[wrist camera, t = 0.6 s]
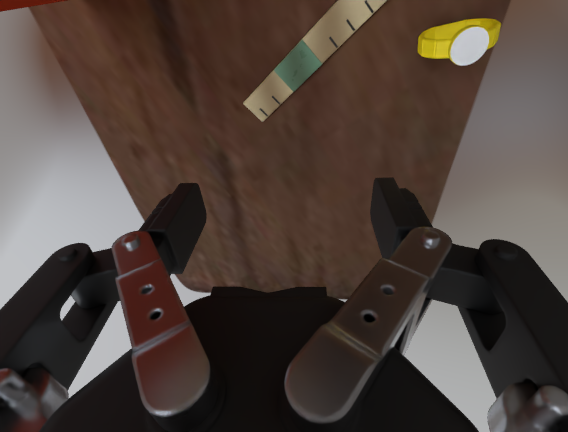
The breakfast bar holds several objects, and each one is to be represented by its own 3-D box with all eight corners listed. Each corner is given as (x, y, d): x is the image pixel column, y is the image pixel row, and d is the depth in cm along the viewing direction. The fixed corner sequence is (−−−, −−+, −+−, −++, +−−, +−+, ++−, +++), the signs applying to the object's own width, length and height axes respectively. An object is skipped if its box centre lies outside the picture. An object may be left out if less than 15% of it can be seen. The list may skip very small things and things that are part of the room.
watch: (484, 5, 26) (520, 15, 21) (478, 40, 28) (510, 56, 23) (412, 23, 27) (432, 36, 23) (411, 55, 29) (429, 73, 24)
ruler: (456, -130, 21) (459, -132, 20) (474, -88, 22) (477, -89, 22) (243, 101, 33) (242, 103, 33) (263, 120, 34) (262, 122, 34)
